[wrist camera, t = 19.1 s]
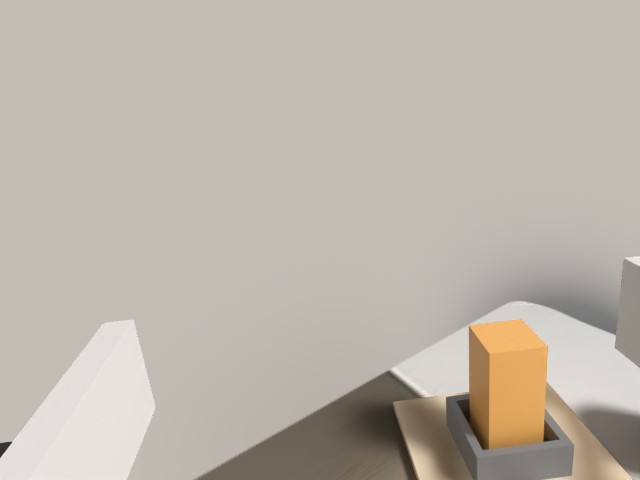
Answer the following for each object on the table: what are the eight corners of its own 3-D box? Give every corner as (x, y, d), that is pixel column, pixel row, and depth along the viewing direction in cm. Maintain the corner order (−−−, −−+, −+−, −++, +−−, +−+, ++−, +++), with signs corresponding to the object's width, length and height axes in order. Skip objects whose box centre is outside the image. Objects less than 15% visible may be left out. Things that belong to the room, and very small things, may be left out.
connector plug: (488, 467, 44) (489, 353, 41) (469, 430, 49) (468, 325, 45) (542, 460, 44) (548, 346, 41) (518, 424, 49) (521, 319, 45)
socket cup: (477, 488, 43) (477, 458, 42) (446, 424, 51) (445, 396, 50) (571, 475, 43) (574, 444, 42) (526, 413, 51) (527, 386, 50)
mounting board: (441, 553, 38) (441, 544, 38) (393, 409, 55) (393, 401, 55) (660, 522, 39) (662, 513, 39) (546, 388, 56) (546, 381, 56)
